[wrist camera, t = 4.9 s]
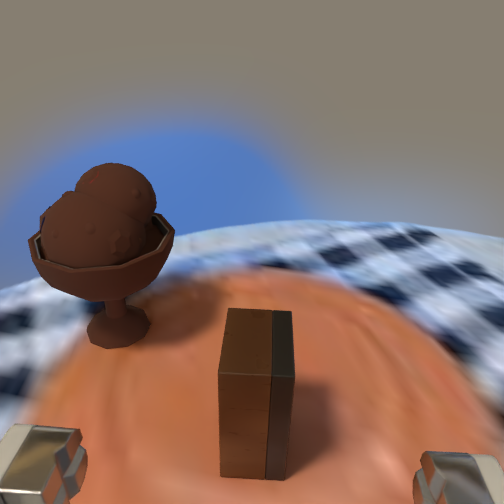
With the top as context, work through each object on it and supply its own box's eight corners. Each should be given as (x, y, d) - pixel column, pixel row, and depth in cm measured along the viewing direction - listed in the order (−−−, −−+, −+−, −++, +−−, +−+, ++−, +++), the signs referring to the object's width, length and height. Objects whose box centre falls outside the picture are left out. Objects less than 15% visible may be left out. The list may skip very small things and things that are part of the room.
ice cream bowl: (110, 282, 44) (85, 139, 37) (202, 311, 41) (196, 158, 33) (25, 345, 36) (-29, 176, 28) (131, 389, 32) (101, 208, 25)
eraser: (283, 408, 31) (291, 310, 26) (284, 481, 26) (295, 377, 22) (228, 405, 31) (228, 307, 27) (220, 477, 26) (217, 372, 22)
